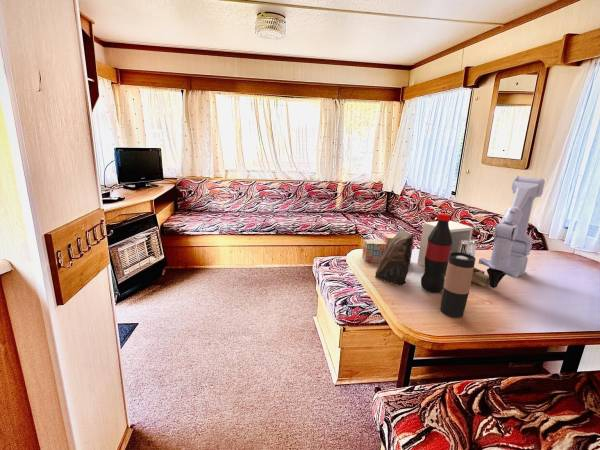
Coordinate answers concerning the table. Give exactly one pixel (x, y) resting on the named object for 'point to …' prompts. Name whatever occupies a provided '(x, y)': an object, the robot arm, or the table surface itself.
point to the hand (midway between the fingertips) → (493, 287)
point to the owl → (396, 259)
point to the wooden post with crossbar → (479, 278)
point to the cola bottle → (437, 255)
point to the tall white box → (457, 234)
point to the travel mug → (457, 284)
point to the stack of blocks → (377, 248)
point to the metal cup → (466, 247)
